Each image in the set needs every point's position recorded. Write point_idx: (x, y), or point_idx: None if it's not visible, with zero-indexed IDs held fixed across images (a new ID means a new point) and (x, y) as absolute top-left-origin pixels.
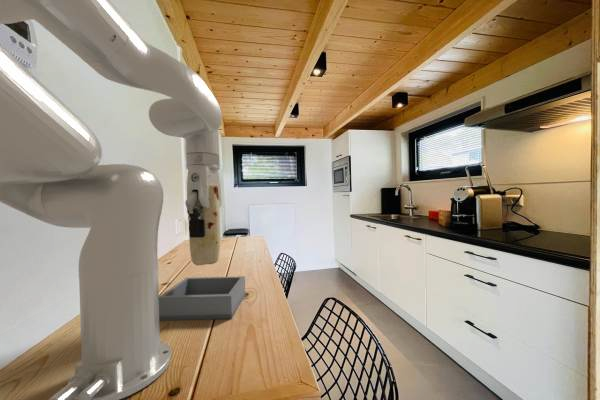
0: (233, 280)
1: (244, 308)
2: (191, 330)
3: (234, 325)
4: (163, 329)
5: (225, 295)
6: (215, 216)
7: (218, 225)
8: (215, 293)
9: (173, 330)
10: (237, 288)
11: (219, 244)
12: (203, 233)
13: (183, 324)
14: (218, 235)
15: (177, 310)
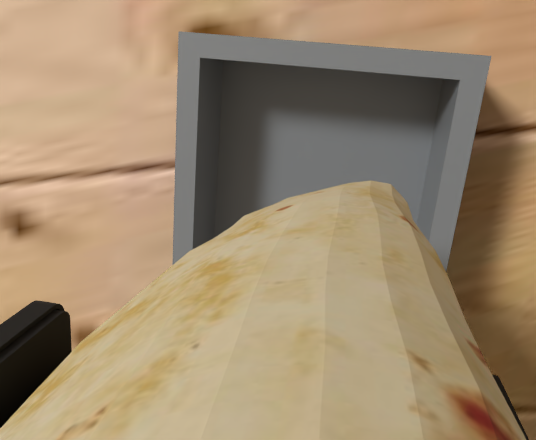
0: (202, 100)
1: (370, 17)
2: (520, 203)
3: (528, 35)
4: (484, 303)
5: (476, 90)
6: (491, 411)
7: (391, 278)
8: (222, 186)
9: (501, 267)
10: (359, 46)
11: (357, 199)
12: (504, 397)
13: (463, 246)
14: (388, 231)
15: None
